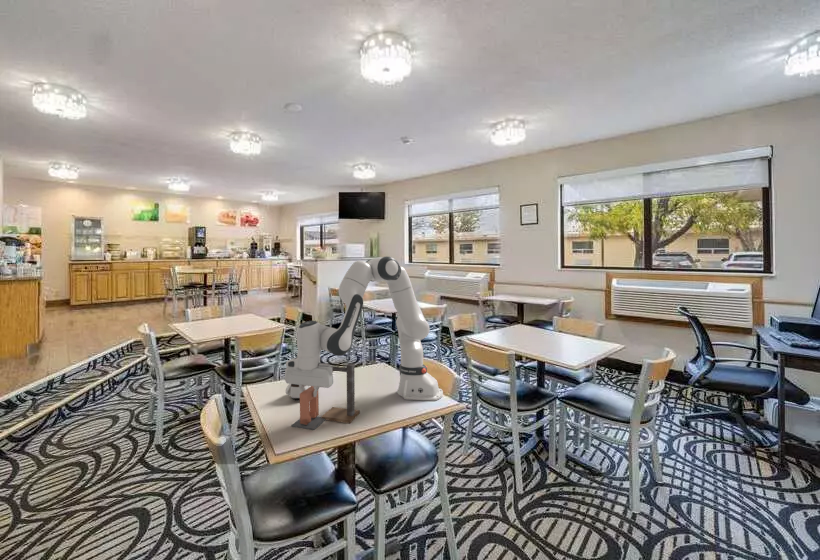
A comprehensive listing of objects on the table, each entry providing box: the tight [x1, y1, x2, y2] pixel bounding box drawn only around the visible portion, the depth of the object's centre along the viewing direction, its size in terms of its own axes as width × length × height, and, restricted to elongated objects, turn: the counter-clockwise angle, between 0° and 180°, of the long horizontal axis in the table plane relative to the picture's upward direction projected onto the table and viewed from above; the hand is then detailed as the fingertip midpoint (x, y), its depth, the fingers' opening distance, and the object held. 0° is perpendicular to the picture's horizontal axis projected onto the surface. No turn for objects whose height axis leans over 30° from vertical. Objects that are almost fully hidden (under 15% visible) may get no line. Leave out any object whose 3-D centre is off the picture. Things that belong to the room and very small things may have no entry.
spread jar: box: [285, 384, 310, 402], centre depth 171 cm, size 12×11×12 cm
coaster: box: [291, 415, 326, 431], centre depth 145 cm, size 10×10×1 cm
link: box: [299, 386, 320, 425], centre depth 145 cm, size 3×9×12 cm, turn 164°
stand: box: [320, 363, 361, 424], centre depth 151 cm, size 17×10×22 cm, turn 74°
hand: (309, 395), depth 145 cm, fingers closed on link, 3 cm apart
